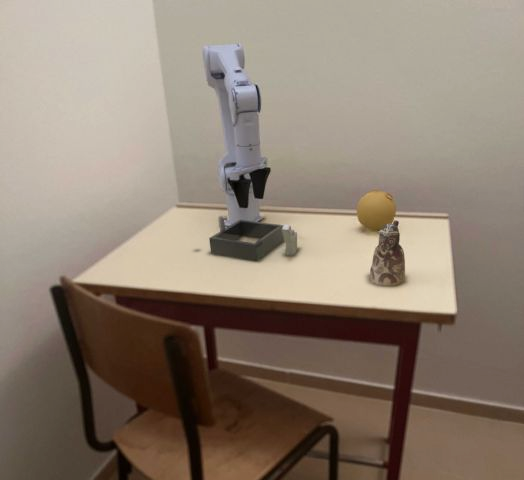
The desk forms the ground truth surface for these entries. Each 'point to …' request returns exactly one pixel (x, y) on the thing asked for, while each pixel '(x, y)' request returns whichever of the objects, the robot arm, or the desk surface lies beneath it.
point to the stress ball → (376, 210)
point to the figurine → (388, 257)
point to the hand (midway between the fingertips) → (251, 202)
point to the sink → (230, 247)
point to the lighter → (289, 239)
